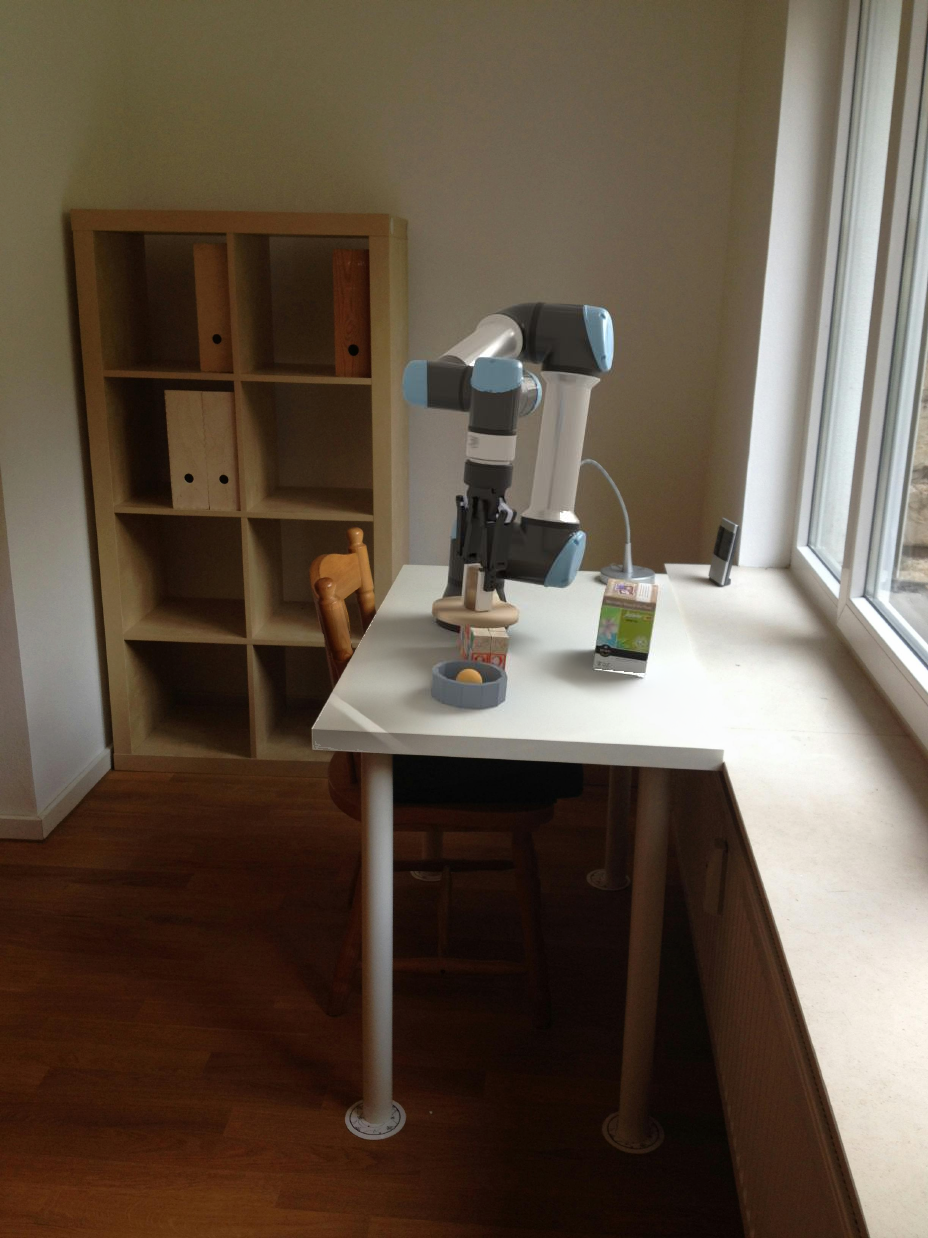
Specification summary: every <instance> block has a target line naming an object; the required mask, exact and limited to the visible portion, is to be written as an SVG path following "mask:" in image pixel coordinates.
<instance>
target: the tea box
mask: <svg viewBox="0 0 928 1238" xmlns="http://www.w3.org/2000/svg"><path fill="white" fill-rule="evenodd" d="M658 593H659V585H657V584H652V583H645V582H637V581H630V580H623V579H616V578H608V579H607V583H606V586H605V589H604V593H603V596H602V601H601V607H600V614H599V620H598V626H597V627H598V629H597V633H596V634H597V636H596V640H595V641H596V642H595V648H594V655H593V656H594V657H593V664H592V670H593V669H602V670H613V671H624V672H633V673H645V674H646V672H647V665H648V659H649V655H650V649H651V644H652V643H651V642H652V637H653V629H654V624H655V618H656V610H657V601H658Z"/></svg>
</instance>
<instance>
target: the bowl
mask: <svg viewBox="0 0 928 1238" xmlns="http://www.w3.org/2000/svg"><path fill="white" fill-rule="evenodd" d="M465 669H473V670H475V671H477V672H478V673H479V674H480V676H481V678H482V683H464V682H460V681H456V677H457V675H458V674H459V673H460V672H461V671H463V670H465ZM431 671H432V672H431V679H430V680H431V681H430V695H431V698H432V699H434V700H436V701H437V702H439V703H441V704H443V705H447V706H450V707H453V708H457V709H464V710H465V709H468V710H484V709H485V710H486V709H490V708H495V707H496V708H497V707H498V706H500V705H501V704H503V703H504V702H505V701H506V694H507V687H508V674H507V671H506V669H505V670H503V669H501V668H499V667H498V666H496V665H494V664H489V663H485V662H481V661H476V660H464V659H451V660H444V661H440V662H438V663H436V664H434V665H432V669H431Z"/></svg>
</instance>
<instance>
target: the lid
mask: <svg viewBox="0 0 928 1238" xmlns="http://www.w3.org/2000/svg"><path fill="white" fill-rule="evenodd" d="M479 568H482V567H481V566H472V567H469V571H468V582H467V594H466V604H464V605H463V604H461V598H462V596H453V597H445V598H442V597H441V598H439V599H436V600H434V601H433V603H432V606H431V613H432V615H433V617H435V619H436V618H438V619H439V620H442V621H444V622H447V623H450V624H454V625H459V626H464V627H472V628H502V627H507V626H509V627H511V626H513V625H515V624H518V622H519V619H520V618H519V617H520V610H519V609H518V608H517V606H514V605H513V604H511V603H509V602H507V601H506V602H507V603H506V602H503V601H499V600H495V599H493V601H492V610H485V611H476V610H475V606H476V595H477V584H478V573H479Z"/></svg>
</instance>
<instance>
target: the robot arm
mask: <svg viewBox="0 0 928 1238" xmlns="http://www.w3.org/2000/svg"><path fill="white" fill-rule="evenodd" d="M613 328H614V327H613V321H612V318H611V314H610V313H609V312H608V310H606V309H605V308H603V307H598V306H593V305H588V304H572V303H556V302H545V301H544V302H542V301H524V302H519V303H518V302H517V303H515V304H511V305H508V306H505V307H503V308H500V309H499V310H496V311H494V312H492V313H490V314H489V315H487V316H486V317H484V318H483V319H481V321H479V323H478V324H477V326H476V328H475V330H474V332H473V333H471V334H470V335H468V336H467V337H465V338H463V340H462V341H460V342H458V343H457V344H456V345H454V346H453V347H452V348H450V349H449V350H448V351H446V352H444V354H442V355H441V356H438V358H436V359H435V360H433V361H432V360H427V359H424V360H421V359H413V360H411V361H410V362H408V363H407V365H406V367H405V369H404V372H403V375H402V386H401V387H402V395H403V399H404V400H405V402H406V403H407V404H408V405H410V406H414V407H419V408H423V409H425V410H426V409H432V410H433V409H434V410H441V411H451V412H458V413H459V412H461V413H468V422H467V423H468V425H467V440H466V452H465V455H466V456H467V458H469V459H466V460H465V461H464V467H463V483H464V484H465V485H466V486H468V487H467V490H466V493H464V494H457V495H456V496H455V503H456V517H455V518H454V519H453V522H452V529H451V535H450V537H449V538H450V544H449V545H450V548H449V558H448V571H447V572H448V573H447V582H446V583H447V584H446V587H445V590H444V592H443V595H442V597H441V598H445V597H453V596H462V598H461V604H463V605H464V604H466V594H467V582H468V571H469V567H472V566H481V567H482V568H479V573H478V584H477V595H476V606H475V610H476V611H485V610H492V601H493V591H494V590H495V589H496V591H497V594H498V596H499V599H500V601H503V602H506V603H508V602H507V598H506V593H505V581H506V580H508V581H513V582H520V583H525V584H529V585H531V584H532V585H537V586H543V587H544V588H550V587H551V588H557V589H558V588H559V589H563V588H564V589H565V588H567V587H569V586H571V584H572V583H573V582H574V580H575V579H576V577H577V574H578V573H579V570H580V567H581V564H582V561H583V556H584V554H585V550H586V541H587V534H586V533H585V532H584V531H582V530H580V524H581V523H580V520H579V518H578V517H577V515H576V514H575V503H576V497H577V489H578V483H579V477H580V476H579V475H580V469H581V461H582V455H583V449H584V442H585V441H584V439H585V433H586V427H587V420H588V413H589V408H590V407H589V406H590V400H591V392H592V389H593V388H594V387H595V386H596V385H597V384H598V383H600V382H601V378H602V373H606V372H609V371H610V369H611V368H612V364H613V359H614V347H615V346H614V345H615V344H614V341H615V339H614V329H613ZM523 363H525V364H533V365H540V366H541V367H540V375H541V377H542V378H543V379H544V381H545V383H546V388H545V395H544V404H543V410H542V418H541V425H540V433H539V441H538V448H537V454H536V462H535V468H534V476H533V484H532V490H531V491H532V492H531V497H530V505H529V507H528V508H527V509H526V510H525V511H523V512H522V513H521V516H520V520H519V521H520V522H516V521H515V520H516V518H517V515H518V511H517V510H516V509H510V507H509V506H508V505H507V497H506V496H507V495H506V491H507V490H508V489H509V488H511V486H512V484H513V473H514V465H513V464H512V463H511V462H513V461H514V460H515V459H516V457H515V456H516V444H517V431H518V430H517V429H518V423H519V422H518V420H519V419H521V418H525V417H526V416H528V415H529V414H531V413H532V412H534V411H535V410H536V409H537V408H538V407H539V405H540V403H541V401H542V400H541V399H542V396H543V388H542V384H541V382H540V381H539V378H538V377H537V376H536V375H535V374H534V373H533V372H530V371H529V370H526V369H523ZM435 622H436V623H437V624H438V626H441V627H442V628H445V629H448V630H449V631H450V630H451V631H455V632H459V633H460V626H459V625H454V624H450V623H447V622H444V621H442V620H439V619H438V618H436V617H435ZM509 627H510V626H507V627H505V629H506V631H507V630H508V629H509Z"/></svg>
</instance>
